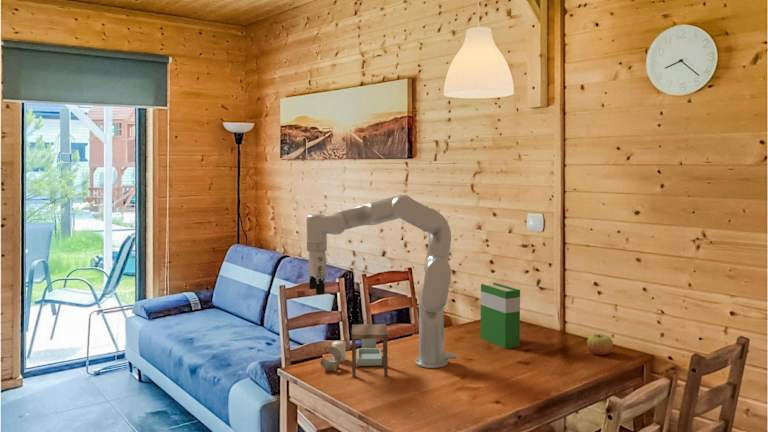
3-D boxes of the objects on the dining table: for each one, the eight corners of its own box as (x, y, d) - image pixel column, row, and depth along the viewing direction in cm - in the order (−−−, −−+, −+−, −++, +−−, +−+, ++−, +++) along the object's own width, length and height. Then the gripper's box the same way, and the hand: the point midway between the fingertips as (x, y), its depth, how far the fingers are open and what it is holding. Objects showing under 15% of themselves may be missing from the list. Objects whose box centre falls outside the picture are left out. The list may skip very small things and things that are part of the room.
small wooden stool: (386, 364, 237) (386, 324, 236) (387, 377, 224) (387, 334, 222) (352, 365, 237) (352, 324, 236) (352, 378, 223) (351, 335, 222)
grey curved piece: (325, 371, 226) (321, 345, 230) (319, 376, 231) (315, 350, 235) (346, 369, 230) (342, 343, 234) (340, 374, 235) (336, 348, 239)
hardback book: (480, 337, 273) (480, 284, 271) (494, 335, 276) (494, 282, 274) (505, 348, 257) (505, 291, 255) (519, 346, 260) (520, 290, 258)
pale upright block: (345, 357, 246) (345, 340, 246) (345, 362, 241) (345, 344, 241) (332, 358, 246) (332, 340, 246) (331, 362, 241) (331, 344, 240)
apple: (585, 355, 247) (586, 336, 246) (587, 348, 256) (588, 330, 255) (612, 358, 243) (612, 338, 242) (612, 351, 252) (613, 332, 251)
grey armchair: (380, 347, 259) (379, 334, 258) (381, 365, 236) (381, 351, 235) (357, 347, 259) (357, 335, 258) (357, 365, 236) (357, 352, 235)
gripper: (332, 249, 228) (332, 295, 229) (320, 243, 244) (320, 286, 245) (312, 250, 225) (313, 296, 227) (301, 244, 241) (301, 287, 243)
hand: (316, 291), depth 236 cm, fingers open, 9 cm apart
